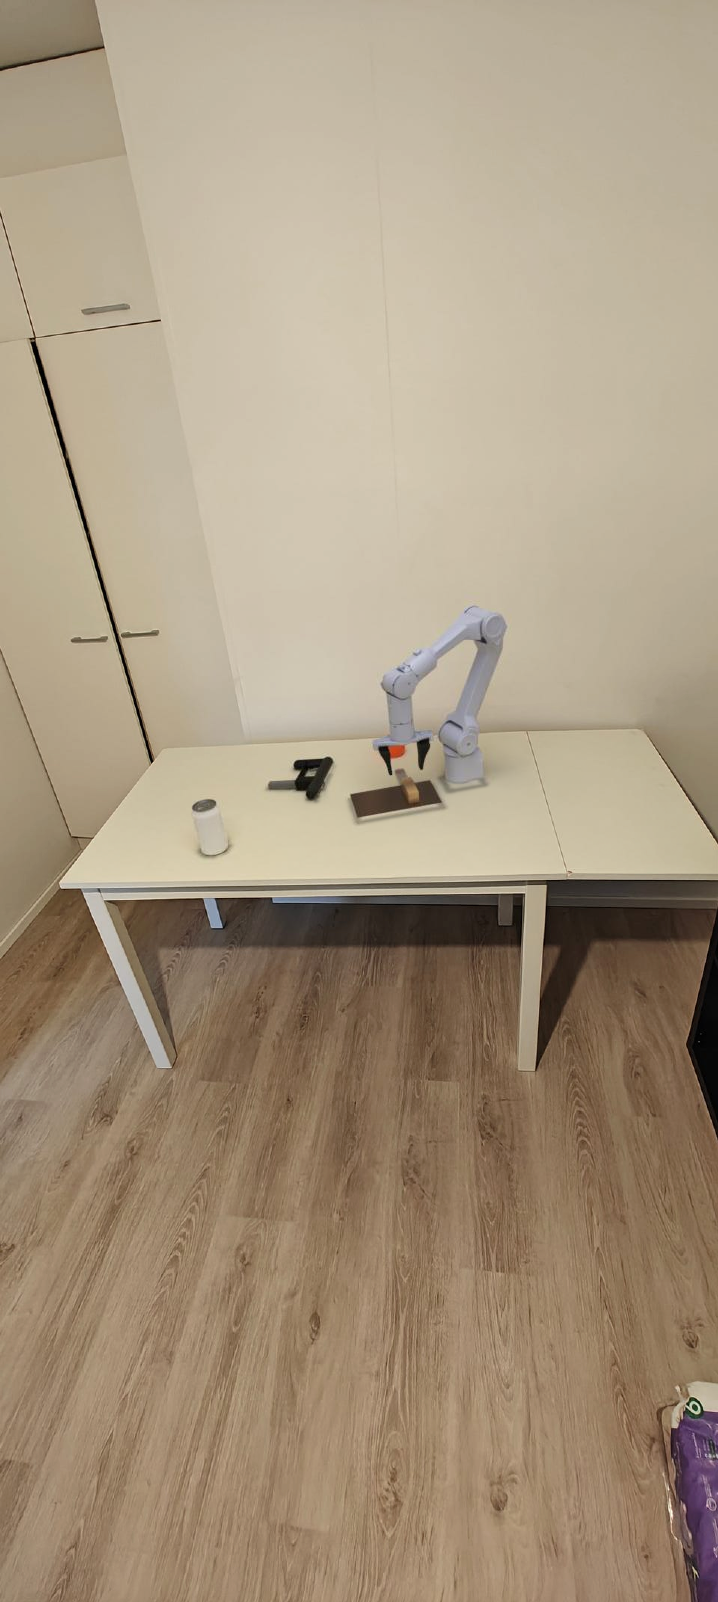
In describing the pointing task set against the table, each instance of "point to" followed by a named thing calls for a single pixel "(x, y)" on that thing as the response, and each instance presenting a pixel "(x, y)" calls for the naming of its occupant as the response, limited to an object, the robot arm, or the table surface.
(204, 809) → the can
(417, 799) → the knife
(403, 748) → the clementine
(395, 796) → the board
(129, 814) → the table surface
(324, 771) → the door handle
